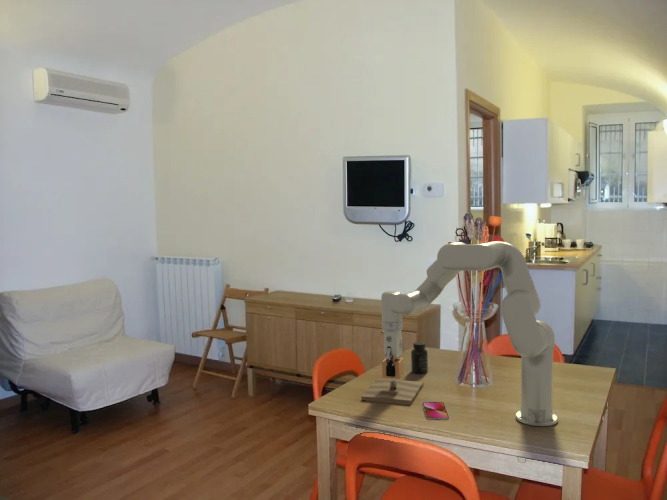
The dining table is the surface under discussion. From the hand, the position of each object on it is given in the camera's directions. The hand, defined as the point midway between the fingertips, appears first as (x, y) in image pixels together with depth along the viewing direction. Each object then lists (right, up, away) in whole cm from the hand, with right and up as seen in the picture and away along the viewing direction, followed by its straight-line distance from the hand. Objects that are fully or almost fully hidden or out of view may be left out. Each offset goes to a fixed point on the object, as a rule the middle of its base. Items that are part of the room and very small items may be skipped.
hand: (393, 373), depth 217 cm
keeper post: (0, -6, 0) cm, 6 cm away
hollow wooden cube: (0, -1, 0) cm, 1 cm away
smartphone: (+12, -9, -19) cm, 25 cm away
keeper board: (0, -7, +1) cm, 7 cm away
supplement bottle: (+14, -5, +27) cm, 30 cm away
